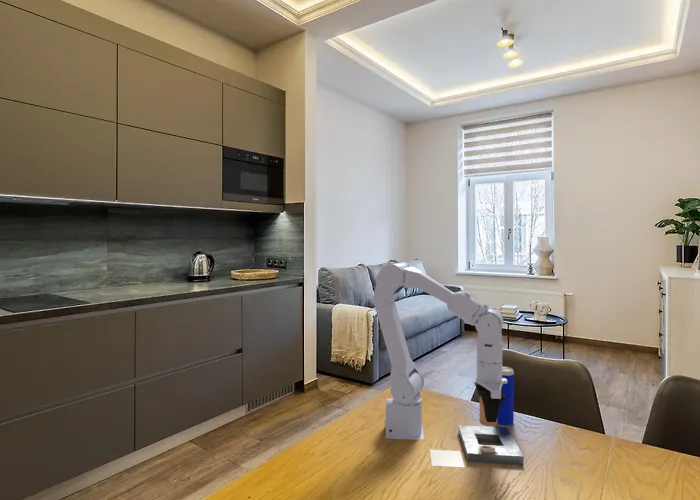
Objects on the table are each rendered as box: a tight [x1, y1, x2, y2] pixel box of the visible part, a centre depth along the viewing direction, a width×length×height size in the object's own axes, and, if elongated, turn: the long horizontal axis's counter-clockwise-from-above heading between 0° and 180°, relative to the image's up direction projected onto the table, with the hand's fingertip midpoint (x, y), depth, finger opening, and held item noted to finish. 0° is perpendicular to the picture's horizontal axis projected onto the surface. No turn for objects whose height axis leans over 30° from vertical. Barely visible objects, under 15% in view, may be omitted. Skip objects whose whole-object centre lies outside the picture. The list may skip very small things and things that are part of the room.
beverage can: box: [497, 365, 515, 427], centre depth 114 cm, size 5×5×15 cm
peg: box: [479, 396, 498, 427], centre depth 100 cm, size 4×4×6 cm
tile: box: [429, 448, 465, 469], centre depth 95 cm, size 7×7×1 cm
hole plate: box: [458, 424, 525, 466], centre depth 100 cm, size 12×14×3 cm
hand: (488, 417), depth 100 cm, fingers closed on peg, 4 cm apart
